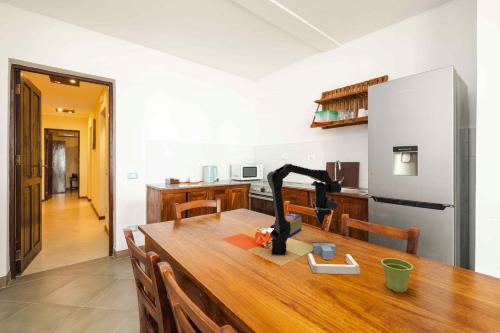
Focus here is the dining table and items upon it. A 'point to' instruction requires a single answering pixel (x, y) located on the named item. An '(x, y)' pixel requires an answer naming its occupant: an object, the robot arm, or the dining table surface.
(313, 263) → the u-shaped frame
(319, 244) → the t block
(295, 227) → the blue and olive box
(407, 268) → the plant pot
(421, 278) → the dining table surface
